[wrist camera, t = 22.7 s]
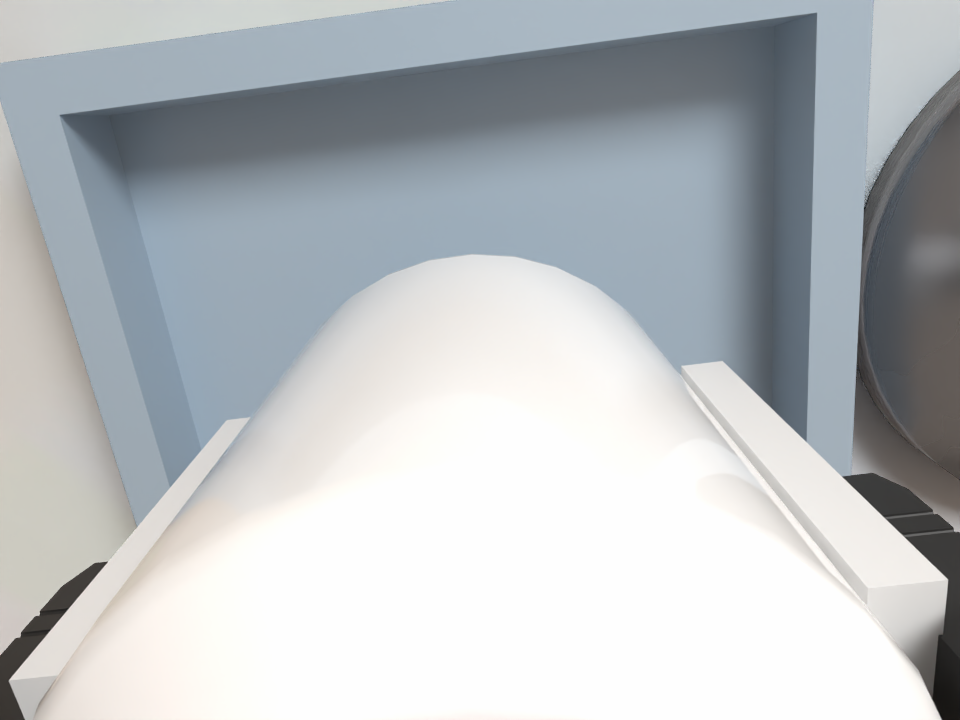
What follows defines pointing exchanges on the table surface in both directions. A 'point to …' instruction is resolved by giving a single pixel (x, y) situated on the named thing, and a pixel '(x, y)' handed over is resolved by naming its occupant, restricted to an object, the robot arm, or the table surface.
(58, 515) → the table surface
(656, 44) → the tray
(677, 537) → the pill bottle
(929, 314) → the crank base
